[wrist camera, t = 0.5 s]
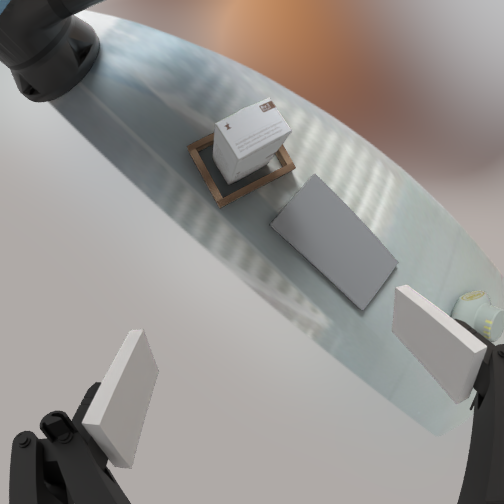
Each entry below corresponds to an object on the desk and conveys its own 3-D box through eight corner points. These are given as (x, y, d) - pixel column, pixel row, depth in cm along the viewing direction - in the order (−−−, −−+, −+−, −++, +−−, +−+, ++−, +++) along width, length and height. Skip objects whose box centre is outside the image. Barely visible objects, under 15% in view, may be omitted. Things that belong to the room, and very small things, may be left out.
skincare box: (228, 186, 36) (237, 165, 24) (210, 157, 35) (211, 123, 23) (269, 163, 37) (296, 133, 25) (251, 135, 36) (269, 95, 24)
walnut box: (188, 150, 35) (186, 146, 33) (260, 116, 36) (262, 110, 34) (219, 208, 36) (220, 207, 34) (291, 170, 37) (295, 167, 35)
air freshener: (441, 342, 43) (478, 359, 33) (444, 300, 42) (484, 311, 33) (475, 325, 45) (509, 337, 35) (477, 286, 44) (514, 294, 34)
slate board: (269, 224, 37) (270, 224, 36) (312, 174, 37) (314, 173, 36) (359, 309, 40) (362, 310, 39) (394, 261, 40) (398, 262, 39)
